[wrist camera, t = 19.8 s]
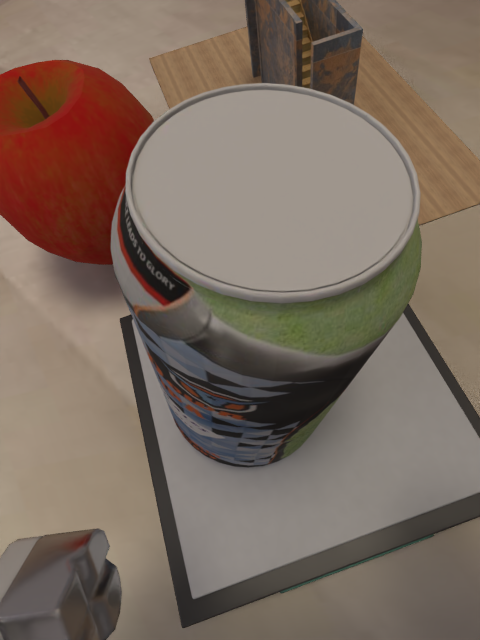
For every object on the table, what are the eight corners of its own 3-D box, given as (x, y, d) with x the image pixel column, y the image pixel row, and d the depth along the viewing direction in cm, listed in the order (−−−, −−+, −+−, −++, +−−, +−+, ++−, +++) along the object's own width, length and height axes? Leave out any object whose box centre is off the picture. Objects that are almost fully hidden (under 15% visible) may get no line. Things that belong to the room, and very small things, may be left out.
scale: (503, 506, 17) (540, 498, 14) (197, 621, 16) (177, 635, 14) (359, 262, 23) (366, 225, 21) (135, 339, 23) (114, 312, 20)
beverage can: (171, 346, 19) (11, 95, 8) (332, 311, 19) (373, 10, 8) (188, 494, 16) (-33, 389, 5) (380, 453, 16) (543, 262, 5)
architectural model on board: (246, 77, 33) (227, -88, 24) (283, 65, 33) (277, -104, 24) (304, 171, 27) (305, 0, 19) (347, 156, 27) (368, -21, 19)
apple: (191, 188, 28) (135, 2, 18) (192, 298, 24) (120, 131, 14) (67, 206, 28) (-50, 37, 19) (47, 316, 24) (-115, 168, 15)
